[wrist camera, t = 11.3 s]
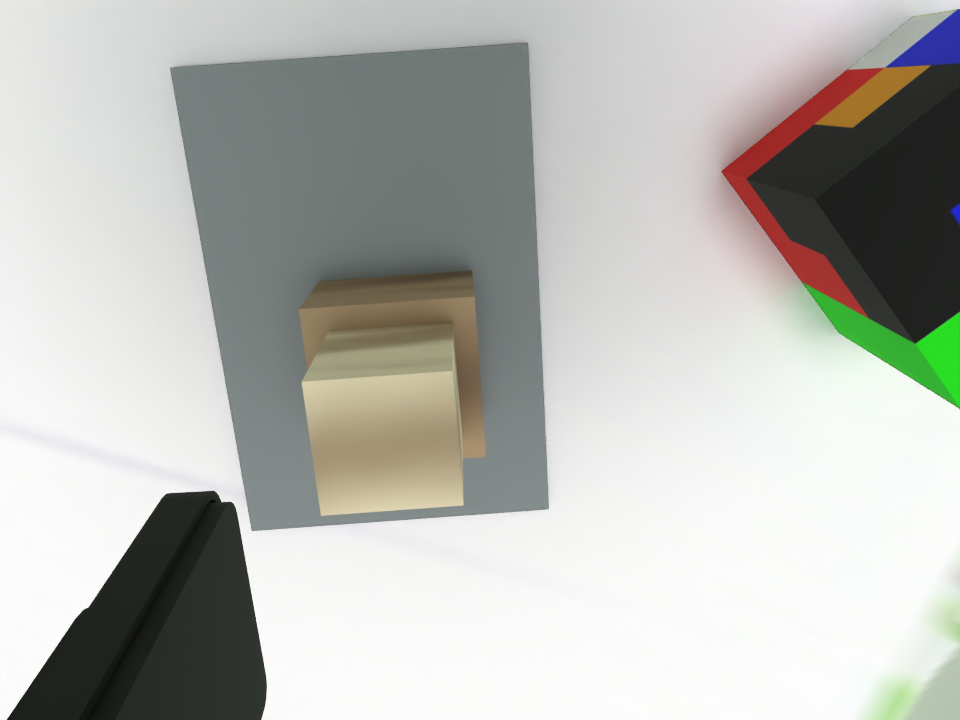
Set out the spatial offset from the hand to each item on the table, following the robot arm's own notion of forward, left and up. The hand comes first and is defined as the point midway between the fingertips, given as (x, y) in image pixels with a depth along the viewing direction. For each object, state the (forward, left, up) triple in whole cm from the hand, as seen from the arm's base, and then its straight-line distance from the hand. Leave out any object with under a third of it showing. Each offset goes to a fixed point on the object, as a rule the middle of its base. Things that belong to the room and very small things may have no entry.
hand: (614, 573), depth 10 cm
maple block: (+5, -5, -23) cm, 24 cm away
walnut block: (+5, -5, -28) cm, 29 cm away
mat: (+3, -6, -28) cm, 29 cm away
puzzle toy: (-1, +17, -29) cm, 33 cm away
